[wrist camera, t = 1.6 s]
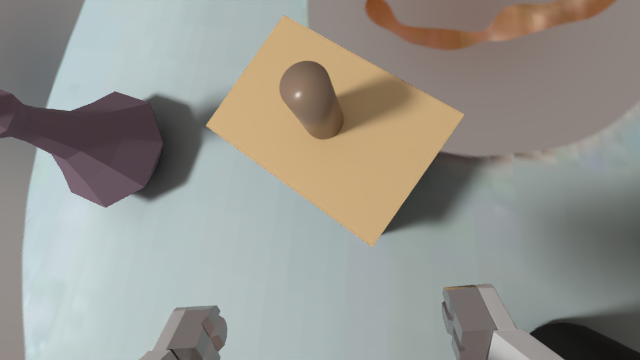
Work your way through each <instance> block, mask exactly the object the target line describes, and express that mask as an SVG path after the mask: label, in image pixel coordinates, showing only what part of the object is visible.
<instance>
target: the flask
mask: <svg viewBox="0 0 640 360" xmlns="http://www.w3.org/2000/svg"><path fill="white" fill-rule="evenodd" d="M4 137H14V138H18V139H20V140H24V141H26V142H28V143H30V144H32V145H34V146H36V147H38V148H40V149H42V150H44V151H46V152H48V153H50V154H52V156H53V158H54V159H55V161H56V162H57V164H58V165H59V167H60V169H61V170H62V172H63V174H64V177H65V179H66V181H67V183H68V186H69V188H70V190H71V192H72V193H74V194H77V195H79V196H81V197H83V198H85V199H88V200H90V201H92V202H94V203H96V204H99V205H101V206H103V207H105V208H106V207H108V206H110V205H112V204H113V203H115V202H117V201H119V200H121V199H123V198H125V197H127V196H129V195H131V194H133V193H135V192H136V191H138V190H140V189H142V188H144V187H145V186H146V184H147V183H148V181H149V180H150V178H151V177H152V176H153V173H154V171H155V169H156V166H157V164H158V161H159V159H160V157H161V154H162V149H163V141H162V138H161V135H160V132H159V129H158V126H157V123H156V120H155V117H154V114H153V111H152V108H151V105H150V103H148V102H145V101H142V100H139V99H136V98H133V97H130V96H127V95H124V94H121V93H118V92H113V93H111V94H109V95H107V96H105V97H103V98H101V99H99V100H97V101H95V102H93V103H91V104H88V105H85V106H83V107H80V108H77V109H75V110H72V111H65V110H55V109H46V108H37V107H32V106H28V105H24V104H22V103H21V102H20V101H19V100H18V99H17V98H16V97H15V96H14V95H12V94H11V93H8V92H5V91H3V90H0V138H4Z"/></svg>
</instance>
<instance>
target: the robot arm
mask: <svg viewBox="0 0 640 360" xmlns="http://www.w3.org/2000/svg"><path fill="white" fill-rule="evenodd" d="M443 297H444V300H445V301H444V302H443V303H442V314H443V320H444V324H445V327H446V330H447V332H448V333H449V334H450V335H451V336H452V344H451V345H452V348H453V351H454V354H455V356H456V359H457V360H564V359H563V358H561V357H560V356H559V355H557V354H556V353H555V352H553V351H552V350H551V349H549V348H548V347H546V346H545V345H544V344H542V343H541V342H540V341H538V340H537V339H536V338H534V337H533V336H531V335H530V334H529V333H527V332H526V331H525V330H523V329H517V328H516V326H515V324H514V322H513V320H512V319H511V317H510V315H509V313H508V311H507V310H506V308H505V306H504V304H503V302H502V301H501V299H500V297H499V295H498V293H497V292H496V290H495V288H494V286H492V285H491V284H482V285H465V286H454V287H444V289H443ZM219 313H220V310H219V308H218V307H217V305H216V306H196V307H179V308H176V309H175V310H174V311H173V312H172V314H171V316H170V318H169V319H168V321H167V323H166V325H165V327H164V329H163V331H162V333H161V335H160V337H159V339H158V341H157V343H156V345H155V347H154V349H153V351H148V352H147V353H146V354H145V355H144V356H143V357H142V358H140V359H139V360H220V355H219V352H218V351H219V350H220V349H221V348H222V347H223V346H224V345H225V341H226V338H227V325H226V321H225V319H224V318H222V317H221V316H219Z"/></svg>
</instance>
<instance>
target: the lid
mask: <svg viewBox="0 0 640 360" xmlns="http://www.w3.org/2000/svg"><path fill="white" fill-rule="evenodd" d="M464 115H465V114H463V113H461V112H459V111H458V110H456V109H454V108H452V107H450V106H449V105H447V104H445V103H443V102H441V101H439V100H438V99H436V98H434V97H432V96H430V95H429V94H427V93H425V92H423V91H421V90H419V89H418V88H416V87H414V86H412V85H410V84H408V83H407V82H405V81H403V80H401V79H399V78H398V77H396V76H394V75H392V74H390V73H388V72H387V71H385V70H383V69H381V68H379V67H377V66H376V65H374V64H372V63H370V62H368V61H367V60H365V59H363V58H361V57H359V56H357V55H356V54H354V53H352V52H350V51H348V50H346V49H345V48H343V47H341V46H339V45H337V44H336V43H334V42H332V41H330V40H328V39H327V38H325V37H323V36H321V35H319V34H317V33H316V32H314V31H312V30H310V29H308V28H307V27H305V26H303V25H301V24H299V23H297V22H296V21H294V20H292V19H290V18H288V17H287V16H285V15H284V16H283V17H282V18H281V20H280V21H279V23H278V24H277V25H276V27H275V28H274V30H273V31H272V33H271V34H270V35H269V37H268V38H267V40H266V41H265V42H264V44H263V45H262V47H261V48H260V49H259V51H258V52H257V54H256V55H255V57H254V58H253V59H252V61H251V62H250V64H249V65H248V66H247V68H246V69H245V71H244V72H243V74H242V75H241V76H240V78H239V79H238V81H237V82H236V83H235V85H234V86H233V88H232V89H231V91H230V92H229V93H228V95H227V96H226V98H225V99H224V100H223V102H222V103H221V105H220V106H219V107H218V109H217V110H216V112H215V113H214V115H213V116H212V117H211V119H210V120H209V122H208V123H207V124H206V126H207V127H208V128H210V129H211V130H212V131H214V132H215V133H216V134H218V135H219V136H221V137H222V138H223V139H225V140H226V141H227V142H229V143H230V144H231V145H233V146H234V147H236V148H237V149H238V150H240V151H241V152H242V153H244V154H245V155H247V156H248V157H249V158H251V159H252V160H253V161H255V162H256V163H258V164H259V165H260V166H262V167H263V168H264V169H266V170H267V171H269V172H270V173H271V174H273V175H274V176H275V177H277V178H278V179H279V180H281V181H282V182H284V183H285V184H286V185H288V186H289V187H290V188H292V189H293V190H295V191H296V192H297V193H299V194H300V195H301V196H303V197H304V198H306V199H307V200H308V201H310V202H311V203H312V204H314V205H315V206H317V207H318V208H319V209H321V210H322V211H323V212H325V213H326V214H327V215H329V216H330V217H332V218H333V219H334V220H336V221H337V222H338V223H340V224H341V225H343V226H344V227H345V228H347V229H348V230H349V231H351V232H352V233H354V234H355V235H356V236H358V237H359V238H360V239H362V240H363V241H365V242H366V243H367V244H369V245H370V246H371V247H373V245H374V244H375V242H376V241H377V240H378V238H379V237H380V235H381V234H382V232H383V231H384V230H385V228H386V227H387V225H388V224H389V222H390V221H391V220H392V218H393V217H394V215H395V214H396V212H397V211H398V210H399V208H400V207H401V205H402V204H403V202H404V201H405V200H406V198H407V197H408V195H409V194H410V192H411V191H412V190H413V188H414V187H415V185H416V184H417V182H418V181H419V180H420V178H421V177H422V175H423V174H424V172H425V171H426V170H427V168H428V167H429V165H430V164H431V162H432V161H433V160H434V158H435V157H436V155H437V154H438V152H439V151H440V150H441V148H442V147H443V145H444V144H445V142H446V141H447V139H448V138H449V137H450V135H451V134H452V132H453V131H454V129H455V128H456V127H457V125H458V124H459V122H460V121H461V119H462V118H463V116H464Z"/></svg>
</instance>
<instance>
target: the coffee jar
mask: <svg viewBox="0 0 640 360" xmlns="http://www.w3.org/2000/svg"><path fill="white" fill-rule="evenodd" d="M530 335H531V336H533V337H534V338H536V339H537V340H538V341H540V342H541V343H542V344H544V345H545V346H546V347H548V348H549V349H551V350H552V351H553V352H555V353H556V354H557V355H559V356H560V357H561V358H563V359H564V360H640V353H639V352H636V351H634V350H632V349H630V348H628V347H626V346H624V345H622V344H620V343H618V342H616V341H614V340H612V339H610V338H608V337H606V336H604V335H602V334H600V333H597V332H595V331H593V330H591V329H589V328H587V327H585V326H580V325H575V324H569V323H559V324H551V325H545V326H543V327H541V328H539V329H537V330H535V331H533V332H531V333H530Z"/></svg>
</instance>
